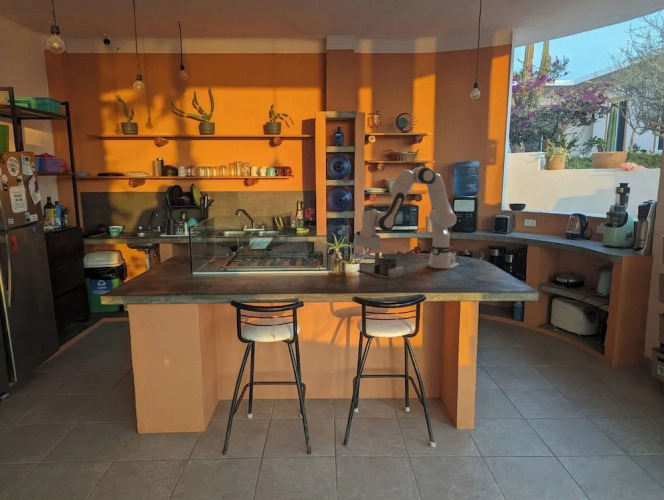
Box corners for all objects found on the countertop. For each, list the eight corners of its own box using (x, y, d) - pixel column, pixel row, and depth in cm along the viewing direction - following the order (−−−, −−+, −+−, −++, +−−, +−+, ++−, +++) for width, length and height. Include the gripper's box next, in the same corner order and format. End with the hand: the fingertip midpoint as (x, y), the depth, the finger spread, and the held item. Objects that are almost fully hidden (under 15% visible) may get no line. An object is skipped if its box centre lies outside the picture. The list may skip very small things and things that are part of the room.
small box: (395, 273, 285) (395, 257, 283) (395, 276, 278) (396, 259, 276) (378, 273, 286) (379, 257, 284) (378, 275, 279) (379, 259, 277)
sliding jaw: (381, 269, 293) (382, 251, 290) (386, 270, 290) (387, 252, 288) (369, 272, 285) (369, 253, 282) (374, 273, 282) (374, 254, 279)
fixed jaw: (374, 267, 300) (374, 259, 299) (404, 274, 282) (405, 266, 281) (357, 271, 289) (357, 262, 288) (388, 279, 271) (388, 270, 270)
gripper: (383, 235, 284) (383, 256, 286) (360, 231, 298) (359, 251, 301) (377, 235, 279) (376, 257, 282) (353, 231, 294) (353, 252, 297)
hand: (367, 254), depth 292 cm, fingers closed
